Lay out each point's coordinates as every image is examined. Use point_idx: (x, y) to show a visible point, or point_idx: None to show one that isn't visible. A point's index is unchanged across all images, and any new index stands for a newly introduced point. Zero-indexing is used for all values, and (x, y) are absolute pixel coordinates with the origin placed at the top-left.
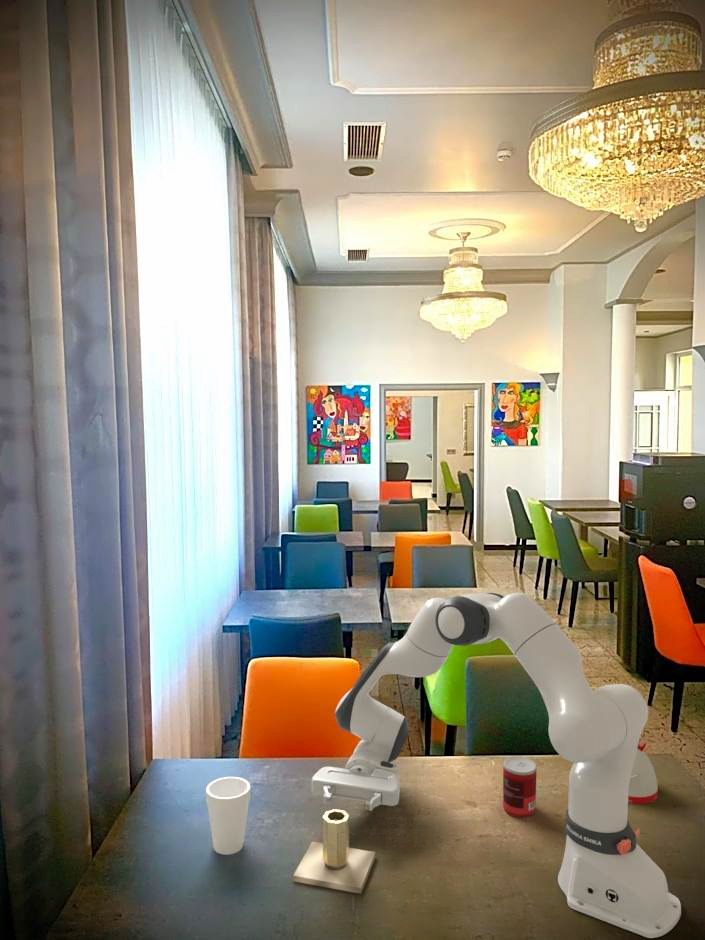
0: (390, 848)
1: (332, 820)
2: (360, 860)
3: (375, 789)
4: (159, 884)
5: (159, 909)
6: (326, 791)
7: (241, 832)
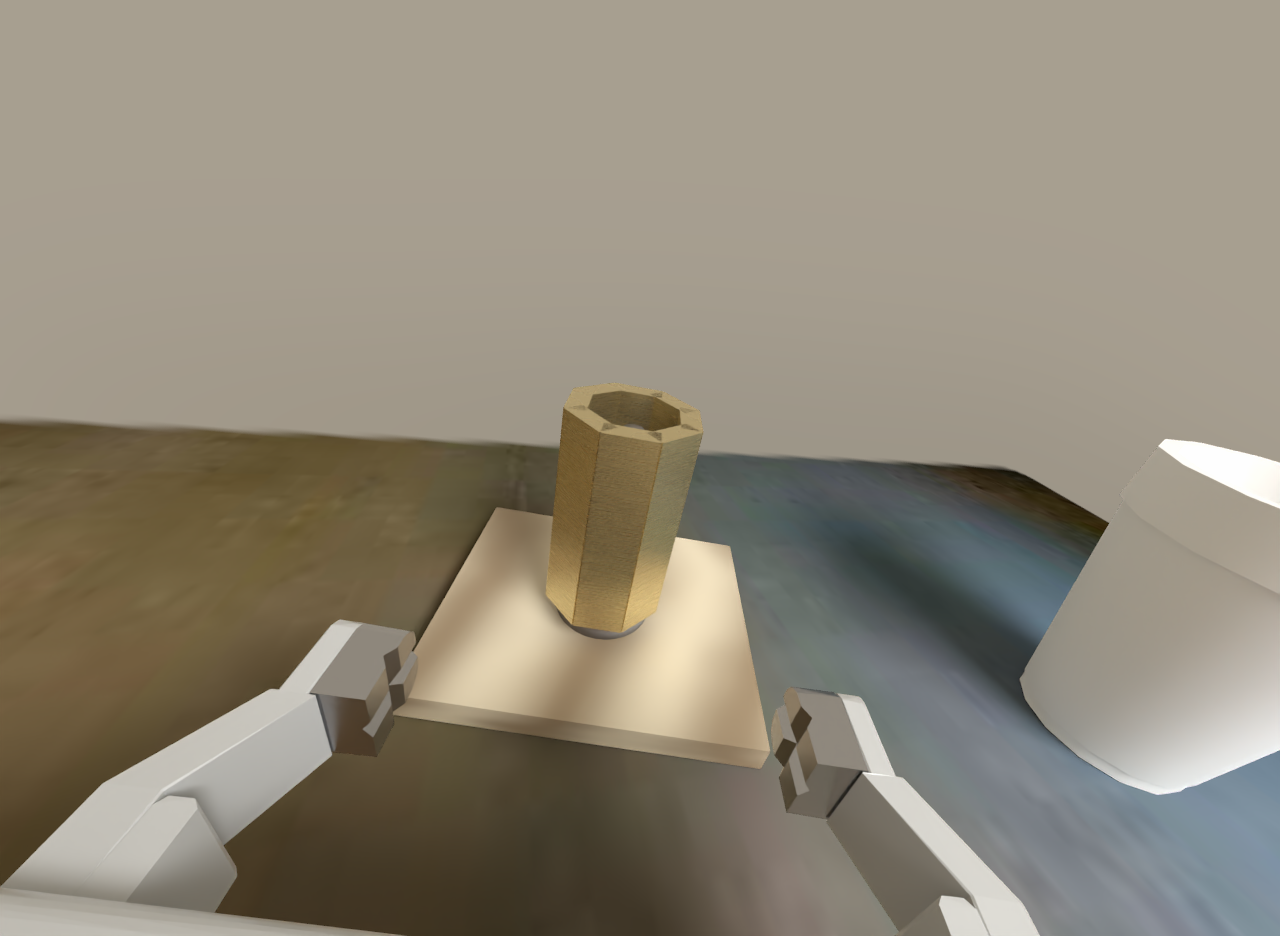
0: (235, 837)
1: (643, 394)
2: (487, 624)
3: (87, 898)
4: (1025, 546)
5: (936, 494)
6: (905, 798)
7: (1063, 636)
